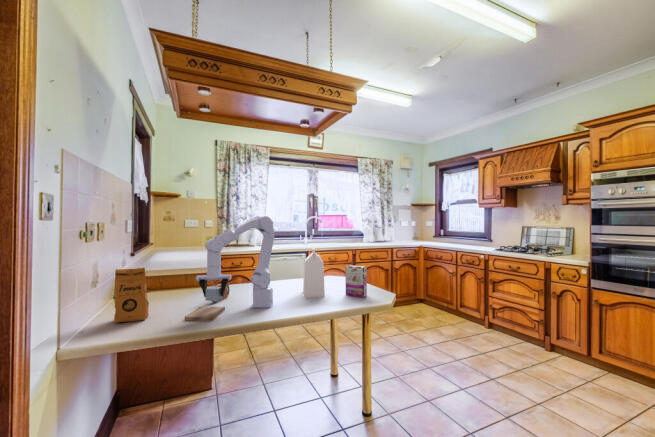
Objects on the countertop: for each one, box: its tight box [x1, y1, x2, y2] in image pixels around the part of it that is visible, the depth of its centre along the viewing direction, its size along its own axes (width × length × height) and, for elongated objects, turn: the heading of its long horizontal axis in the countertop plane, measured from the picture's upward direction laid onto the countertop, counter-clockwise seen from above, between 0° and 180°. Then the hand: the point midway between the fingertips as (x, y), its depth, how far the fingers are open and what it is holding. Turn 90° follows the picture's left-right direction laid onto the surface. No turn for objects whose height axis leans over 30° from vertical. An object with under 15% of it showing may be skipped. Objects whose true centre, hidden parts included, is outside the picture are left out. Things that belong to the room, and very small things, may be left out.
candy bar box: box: [345, 264, 368, 298], centre depth 161 cm, size 11×5×16 cm, turn 61°
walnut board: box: [184, 306, 226, 322], centre depth 128 cm, size 12×14×2 cm
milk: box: [302, 247, 326, 298], centre depth 164 cm, size 12×12×26 cm
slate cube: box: [205, 286, 222, 302], centre depth 128 cm, size 5×5×5 cm
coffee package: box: [113, 267, 150, 323], centre depth 122 cm, size 10×12×22 cm
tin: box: [211, 282, 230, 303], centre depth 152 cm, size 15×3×8 cm, turn 168°
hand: (214, 296), depth 128 cm, fingers closed on slate cube, 7 cm apart
